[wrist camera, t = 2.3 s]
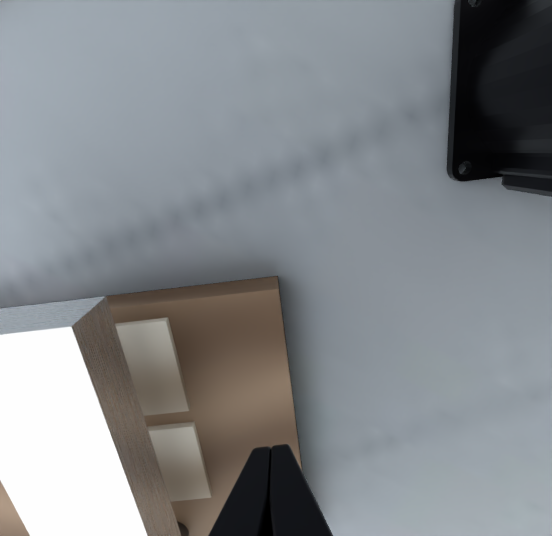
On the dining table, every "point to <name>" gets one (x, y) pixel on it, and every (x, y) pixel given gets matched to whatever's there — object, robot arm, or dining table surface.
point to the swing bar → (75, 426)
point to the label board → (203, 388)
